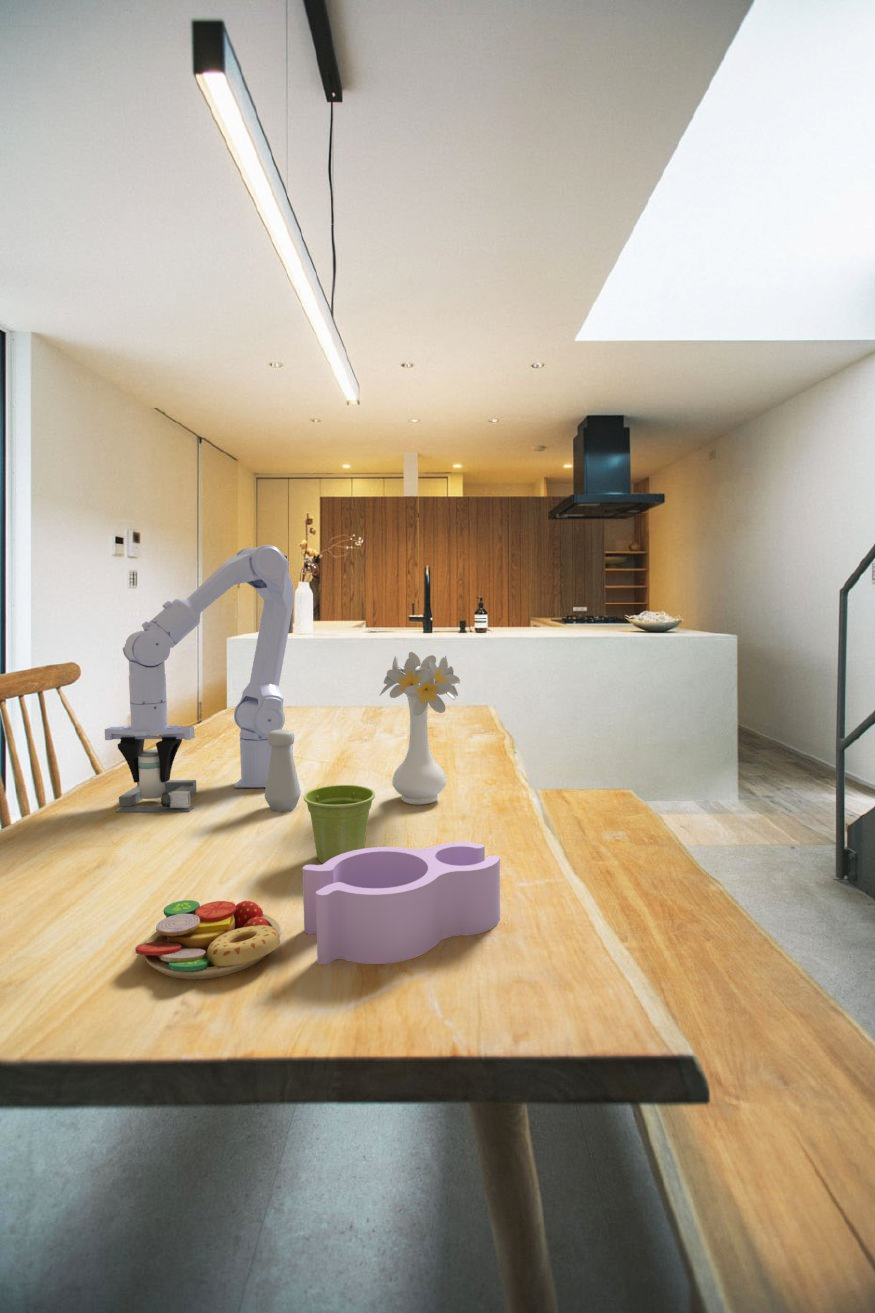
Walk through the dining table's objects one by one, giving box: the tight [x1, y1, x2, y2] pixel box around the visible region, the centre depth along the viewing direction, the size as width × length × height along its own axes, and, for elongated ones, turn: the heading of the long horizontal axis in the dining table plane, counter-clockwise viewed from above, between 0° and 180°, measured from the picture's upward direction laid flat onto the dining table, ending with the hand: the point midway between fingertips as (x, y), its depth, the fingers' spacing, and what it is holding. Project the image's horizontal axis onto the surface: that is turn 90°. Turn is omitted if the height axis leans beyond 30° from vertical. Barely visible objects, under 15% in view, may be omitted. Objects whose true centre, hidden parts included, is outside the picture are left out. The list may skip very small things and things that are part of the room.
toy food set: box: [135, 899, 282, 980], centre depth 68 cm, size 13×13×3 cm
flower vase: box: [379, 651, 461, 806], centre depth 117 cm, size 13×18×25 cm
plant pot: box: [303, 784, 376, 864], centre depth 92 cm, size 9×9×9 cm
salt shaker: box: [264, 728, 302, 813], centre depth 114 cm, size 6×6×13 cm
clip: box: [302, 841, 501, 965], centre depth 72 cm, size 20×12×7 cm, turn 112°
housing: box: [115, 779, 197, 813], centre depth 118 cm, size 13×12×2 cm
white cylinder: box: [138, 749, 165, 800], centre depth 118 cm, size 4×4×8 cm
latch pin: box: [160, 791, 192, 808], centre depth 114 cm, size 4×2×2 cm, turn 89°
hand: (151, 781), depth 118 cm, fingers closed on white cylinder, 4 cm apart
